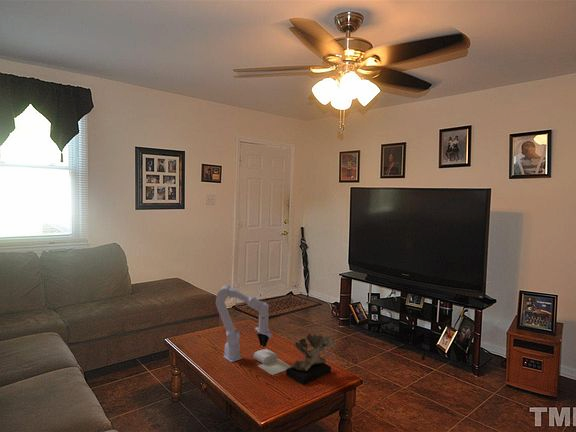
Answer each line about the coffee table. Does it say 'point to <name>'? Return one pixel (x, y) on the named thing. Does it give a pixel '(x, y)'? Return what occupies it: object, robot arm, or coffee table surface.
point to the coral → (310, 360)
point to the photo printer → (265, 356)
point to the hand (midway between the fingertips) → (263, 345)
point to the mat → (275, 367)
